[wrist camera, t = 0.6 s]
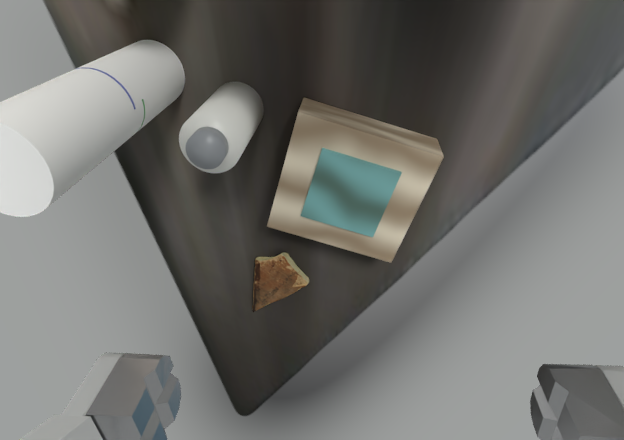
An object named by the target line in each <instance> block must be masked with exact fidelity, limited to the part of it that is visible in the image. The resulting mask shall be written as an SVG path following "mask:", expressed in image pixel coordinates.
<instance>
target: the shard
mask: <svg viewBox="0 0 624 440" xmlns="http://www.w3.org/2000/svg"><path fill="white" fill-rule="evenodd" d="M308 283H309V278H308V277H307V276H306V275H305V274H304V273H303V272H302V271H301V270H300V269H299V268H298V267H297V266H296V264H295V263H294V261H293V260H292V259H291V258H290V256H289V255H288V254H287V253H281V254H279V255H277V256H275V257H257V258H256V259H255V276H254V289H253V298H254V303H253V312H254V311H256V310H258V309H260V308H262V307H264V306H265V305H268V304H270V303H272V302H275V301H278V300H280V299H282V298H284V297H287V296H289V295H290V294H292V293H294V292H296V291H298V290H299V289H300V288H302V287H305V286H306V285H307V284H308Z"/></svg>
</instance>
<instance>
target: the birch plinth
mask: <svg viewBox="0 0 624 440" xmlns="http://www.w3.org/2000/svg"><path fill="white" fill-rule="evenodd" d="M443 157H444V156H443V154H442V151H441V148H440V145H439V143H438V140H437V139H436V138H432V137H429V136H426V135H423V134H420V133H416V132H413V131H410V130H407V129H404V128H400V127H397V126H394V125H391V124H388V123H384V122H381V121H378V120H375V119H372V118H368V117H365V116H362V115H359V114H356V113H352V112H349V111H346V110H343V109H340V108H337V107H333V106H330V105H327V104H324V103H321V102H317V101H314V100H311V99H308V98H305V97H304V98H303V101H302V103H301V106H300V108H299V111H298V114H297V118H296V122H295V125H294V129H293V133H292V136H291V140H290V144H289V147H288V151H287V155H286V158H285V162H284V166H283V169H282V173H281V177H280V180H279V184H278V188H277V191H276V195H275V199H274V202H273V206H272V210H271V213H270V217H269V221H268V224H267V227H270V228H274V229H277V230H280V231H284V232H287V233H291V234H294V235H298V236H301V237H305V238H308V239H311V240H315V241H318V242H322V243H325V244H329V245H332V246H335V247H339V248H342V249H346V250H349V251H353V252H356V253H360V254H363V255H366V256H370V257H373V258H377V259H380V260H384V261H387V262H392V260H393V258H394V256H395V254H396V252H397V250H398V248H399V246H400V244H401V242H402V240H403V238H404V236H405V234H406V232H407V230H408V228H409V226H410V224H411V222H412V220H413V218H414V216H415V214H416V212H417V210H418V208H419V206H420V204H421V202H422V200H423V198H424V196H425V194H426V192H427V190H428V188H429V186H430V184H431V182H432V180H433V178H434V176H435V174H436V172H437V170H438V168H439V166H440V164H441V162H442V159H443Z"/></svg>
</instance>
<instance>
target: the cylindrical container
mask: <svg viewBox="0 0 624 440" xmlns="http://www.w3.org/2000/svg"><path fill="white" fill-rule="evenodd" d="M184 85H185V74H184V69H183V66H182V64H181V62H180V60H179V58H178V57H177V56H176V54H175V53H174V52H173V51H172V50H171V49H170V48H169V47H167V46H166V45H164V44H162V43H160V42H158V41H154V40H141V41H138V42H135V43H133V44H131V45H129V46H126V47H124V48H122V49H119V50H117V51H115V52H113V53H110V54H108V55H106V56H104V57H101V58H99V59H97V60H95V61H92V62H90V63H88V64H85V65H83V66H81V67H79V68H76V69H74V70H72V71H70V72H67V73H65V74H63V75H61V76H58V77H56V78H54V79H52V80H49V81H47V82H45V83H43V84H40V85H38V86H36V87H33V88H31V89H29V90H27V91H25V92H22V93H20V94H18V95H15V96H13V97H11V98H9V99H6V100H4V101H2V102H0V213H3V214H6V215H11V216H18V217H26V216H32V215H36V214H38V213H40V212H42V211H43V210H45V209H46V208H47V207H48V206H50V205H51V204H52V203H53V202H54V201H56V200H57V199H58V198H59V197H60V196H61V195H62V194H64V193H65V192H66V191H67V190H68V189H70V188H71V187H72V186H73V185H75V184H76V183H77V182H78V181H79V180H81V179H82V178H83V177H84V176H85V175H86V174H88V173H89V172H90V171H91V170H92V169H94V168H95V167H96V166H97V165H98V164H99V163H101V162H102V161H103V160H104V159H106V157H108V156H109V155H110V154H112V153H113V152H114V151H115V150H116V149H117V148H119V147H120V146H121V145H122V144H123V143H125V142H126V141H127V140H128V139H129V138H131V137H132V136H133V135H134V134H135V133H137V132H138V131H139V130H140V129H141V128H142V127H144V126H145V125H146V124H147V123H148V122H150V121H151V120H152V119H153V118H154V117H156V116H157V115H158V114H159V113H160V112H162V111H163V110H164V109H165V108H166V107H167V106H169V105H170V104H171V103H172V102H173V101H175V100H176V99H177V98H178V97H179V96H180V95H181V93H182V91H183V89H184Z"/></svg>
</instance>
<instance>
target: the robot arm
mask: <svg viewBox="0 0 624 440" xmlns="http://www.w3.org/2000/svg"><path fill="white" fill-rule="evenodd" d="M172 368H173V364H172V361H171V358H170V356H166V355H149V354H130V353H104V354H103V355H101V356H100V357H99V358H98V359H97V360H96V362H95V364H94V365H93V366H92V368H91V369H90V371H89V373H88V374H87V376H86V377H85V379H84V380H83V382H82V383H81V385H80V386H79V388H78V389H77V391H76V392H75V394H74V396H73V397H72V399H71V400H70V402H69V403H68V405H67V406H66V408H65V409H64V411H63V412H62V414H61V415H53V416H52V417H51V418H50V419H48V420H46V421H45V422H44V423H42V424H41V425H39V426H38V427H37V428H35V429H34V430H32V431H31V432H30V433H28V434H27V435H25V436H24V437H23V438H21V439H19V440H167V437H166V433H165V430H164V429H165V428H166V427H168V426H169V425H170V424H171V423H172V422H173V421H174V420H175V418H176V415H177V413H178V410H179V406H180V400H181V388H180V383H179V380H178V378H176V377H175V376H174V375H173V374H171V370H172ZM537 377H538V380H539V382H540V385H539V386H538V387H537V388H535V389H534V390H533V392H532V396H531V401H530V402H531V416H532V421H533V425H534V428H535V431H536V434H537V437H539V438H540V439H541V440H624V367H623V366H602V365H595V366H593V365H567V364H565V365H564V364H543V365H542V366H541V367H540V368H539V371H538V375H537Z"/></svg>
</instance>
